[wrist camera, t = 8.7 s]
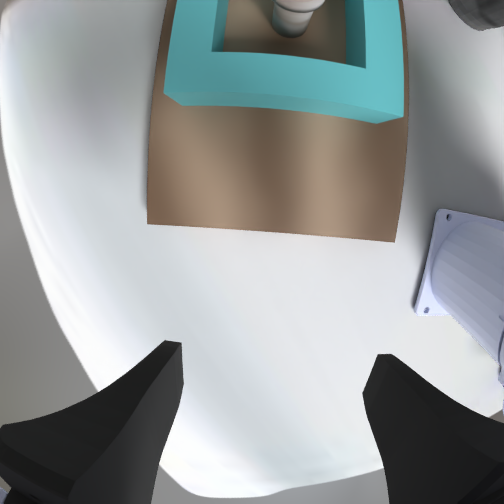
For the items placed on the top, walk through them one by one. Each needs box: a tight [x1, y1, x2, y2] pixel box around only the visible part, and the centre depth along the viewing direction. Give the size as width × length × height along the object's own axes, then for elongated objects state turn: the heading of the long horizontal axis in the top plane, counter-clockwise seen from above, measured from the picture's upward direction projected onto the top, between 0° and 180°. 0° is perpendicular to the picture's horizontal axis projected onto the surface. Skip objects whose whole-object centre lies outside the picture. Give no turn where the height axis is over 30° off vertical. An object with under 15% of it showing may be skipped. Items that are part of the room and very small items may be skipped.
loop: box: [164, 0, 404, 124], centre depth 11 cm, size 11×11×4 cm
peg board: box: [147, 0, 409, 243], centre depth 12 cm, size 15×19×6 cm
